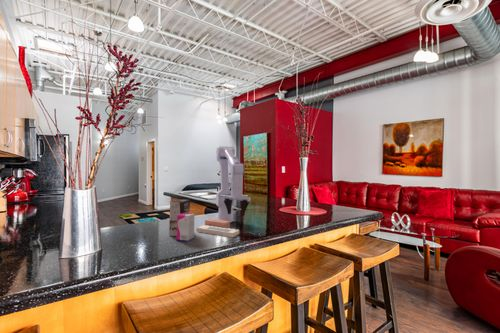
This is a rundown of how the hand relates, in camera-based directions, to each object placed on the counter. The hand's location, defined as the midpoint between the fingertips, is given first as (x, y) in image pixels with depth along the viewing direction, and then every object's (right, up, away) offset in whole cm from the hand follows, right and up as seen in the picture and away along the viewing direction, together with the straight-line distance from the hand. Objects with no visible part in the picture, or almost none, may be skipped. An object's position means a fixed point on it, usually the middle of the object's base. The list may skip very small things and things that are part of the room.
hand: (236, 214), depth 132 cm
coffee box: (-27, -8, -6) cm, 29 cm away
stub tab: (-10, -8, +5) cm, 14 cm away
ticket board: (-9, -9, -3) cm, 13 cm away
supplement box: (-22, -9, -15) cm, 28 cm away
